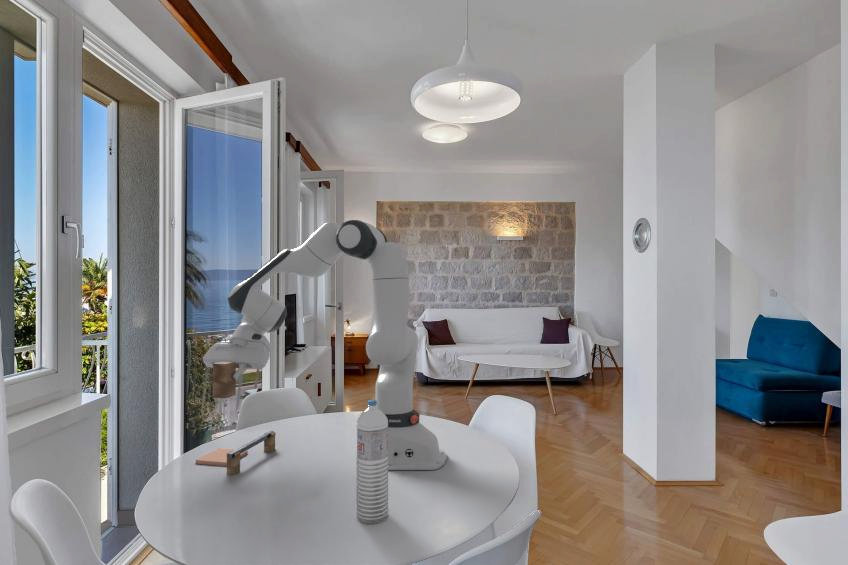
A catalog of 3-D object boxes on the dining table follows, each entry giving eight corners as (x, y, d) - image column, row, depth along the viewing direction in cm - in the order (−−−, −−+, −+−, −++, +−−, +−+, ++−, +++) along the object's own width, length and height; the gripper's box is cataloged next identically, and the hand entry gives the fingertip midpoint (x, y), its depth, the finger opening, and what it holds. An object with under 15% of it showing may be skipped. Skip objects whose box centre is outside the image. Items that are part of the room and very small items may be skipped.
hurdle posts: (275, 449, 140) (275, 432, 140) (235, 475, 120) (235, 454, 120) (267, 449, 140) (267, 431, 140) (226, 474, 120) (226, 453, 120)
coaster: (247, 453, 136) (247, 450, 136) (226, 466, 126) (226, 462, 126) (218, 451, 138) (218, 448, 138) (195, 463, 128) (195, 460, 128)
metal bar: (273, 434, 140) (274, 431, 140) (232, 458, 120) (232, 454, 120) (270, 434, 140) (270, 430, 140) (228, 458, 120) (228, 453, 120)
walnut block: (235, 395, 134) (236, 361, 135) (225, 398, 130) (226, 363, 130) (222, 394, 135) (222, 361, 135) (212, 397, 131) (212, 363, 131)
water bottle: (386, 525, 93) (386, 404, 93) (353, 525, 93) (353, 404, 94) (389, 509, 99) (389, 397, 100) (359, 509, 100) (359, 397, 100)
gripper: (211, 334, 143) (189, 370, 133) (269, 336, 138) (250, 373, 129) (220, 347, 147) (199, 382, 137) (277, 348, 143) (259, 385, 133)
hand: (224, 378), depth 133 cm, fingers closed on walnut block, 4 cm apart
